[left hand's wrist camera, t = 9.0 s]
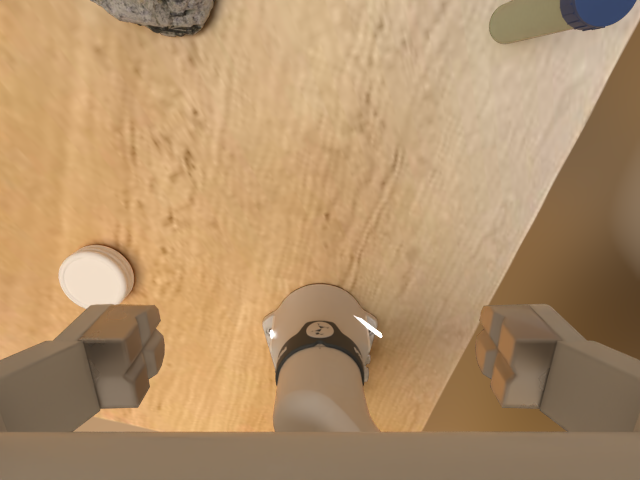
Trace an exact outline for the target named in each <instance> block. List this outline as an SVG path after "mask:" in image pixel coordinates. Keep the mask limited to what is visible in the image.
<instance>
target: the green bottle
mask: <svg viewBox="0 0 640 480" xmlns="http://www.w3.org/2000/svg"><path fill="white" fill-rule="evenodd" d="M489 29H490V34H491V36H492V37H493V39H494V40H495V41H497V42H498V43H501V44H508V43H513V42H517V41H522V40H526V39H530V38H535V37H539V36H544V35H548V34H553V33H557V32H562V31H566V30H570V29H574V28H573V27H571V26H570V25H567V23H566V22H565V20H564V19H563V18H562V14H561V11H560V0H512V1H510V2H508V3H506V4H503V5H501V6H500V7H499V8H497V9H496V11H495V12H494V13H493V15H492V17H491V19H490V24H489Z"/></svg>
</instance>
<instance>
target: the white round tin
mask: <svg viewBox="0 0 640 480" xmlns="http://www.w3.org/2000/svg"><path fill="white" fill-rule="evenodd" d="M59 282H60V285H61V288H62V290H63V291H64V293H65V294H66V295H67V297H68V298H69V299H70V300H71V301H73V302H74V303H75V304H77V305H79V306H81V307H83V308H85V309H87V308H88V307H89V306H90V305H96V304H114V305H116V304H120V303H121V302H122V301H123V300H124V299H125V298H126V296H128V294H129V293H130V292H131V290H132V288H133V284H134V273H133V270H132V267H131V265H130V264H129V262H128V261H127V260H126V258H125V257H124V256H123V255H121V254H120V253H119V252H117V251H116V250H114V249H112V248H109V247H107V246H103V245H89V246H85V247H82V248H80V249H79V250H77V251H76V252H74V253H73V254H72V255H70V256H68V257H67V258H66V259H65V260H64V261H63V263H62V265H61V267H60V270H59Z"/></svg>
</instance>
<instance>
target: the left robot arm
mask: <svg viewBox="0 0 640 480" xmlns="http://www.w3.org/2000/svg"><path fill="white" fill-rule="evenodd" d="M160 321H161V320H160V315H159V310H158V308H157V307H156V306H155V305H121V304H116V305H114V304H96V305H90V306H89V307H88V308H87V309H86V310H85V311H84V312H83V313H82V314H81V315H80V316H79V317H78V318H76V319H75V320H74V321H73V322H72V323H71V324H70V325H69V326H68V327H67V328H66V329H65V330H64V331H63V332H62V333H61V334H60V335H58V336H57V337H56V338H55V339H54V340H53V341H45V342H42V343H40V344H37V345H35V346H33V347H30V348H28V349H26V350H23V351H21V352H19V353H16V354H14V355H11V356H9V357H7V358H4V359H2V360H0V480H640V360H638V359H635V358H633V357H631V356H628V355H626V354H624V353H621V352H619V351H617V350H614V349H612V348H610V347H607V346H605V345H602V344H600V343H598V342H595V341H587V340H586V339H585V338H584V337H583V336H582V335H581V334H579V333H578V332H577V331H576V330H575V329H574V328H573V327H572V326H571V325H570V324H569V323H568V322H567V321H566V320H565V319H564V318H563V317H561V316H560V315H559V314H558V313H557V312H556V311H555V310H554V309H553V308H552V307H551V306H549V305H546V304H530V305H488V306H484V307H483V309H482V311H481V314H480V320H479V321H480V322H481V324H482V326H483V327H484V329H483V330H482V331H481V332H480V333H479V334H478V335H477V338H476V346H475V350H476V359H477V362H478V366H479V368H480V369H481V372H482V373H483V374H484V375H486V376H487V377H489V378H490V379H491V385H490V387H491V389H492V391H493V393H494V394H495V396H496V398H497V400H498V401H499V403H500V405H501V407H502V408H536V409H540V411H541V412H542V413H544V414H545V415H546V416H548V417H549V418H550V419H552V420H553V421H554V422H555V423H557V424H558V425H559V426H561V427H562V428H563V429H565V430H566V431H567V432H381V431H380V430H379V429H378V428H377V426H376V425H375V423H374V422H373V420H372V418H371V416H370V414H369V411H368V407H367V403H366V399H365V395H364V390H363V385H364V382H367V381H368V376H369V369H368V368H367V367H366V364H370V359H371V357H370V355H369V353H370V350H371V346H372V343H373V339H374V336H375V334H376V335H378V336H379V337H380V338H381V337H382V334H381V333H380V332H379V331H377V330H376V329H377V319H376V318H375V317H374V316H373V315H371V314H370V313H368V312H366V311H364V310H363V309H362V308H361V306H360V305H359V303H358V302H357V301H356V300H355V298H354V297H353V296H352V295H350V294H349V293H348V292H346V291H345V290H343V289H341V288H338V287H336V286H332V285H327V284H313V285H308V286H304V287H302V288H299V289H297V290H295V291H294V292H292V293H291V294H290V295H288V296H287V297H286V298H285V300H284V301H283V302H282V303H281V305H280V306H279V308H278V309H277V310H276V311H274V312H272V313H270V314H269V315H267V316H266V317H265V318H264V319H263V329H264V333H265V336H266V339H267V343H268V346H269V350H270V353H271V357H272V360H273V363H274V367H275V373H276V385H277V391H276V398H275V405H274V413H273V425H274V430H275V432H73V431H74V430H75V429H77V428H78V427H79V426H81V425H82V424H83V423H85V422H86V421H87V420H89V419H90V418H91V417H93V416H94V415H95V414H96V413H98V412H99V411H100V409H105V408H138V407H139V405H140V403H141V401H142V400H143V398H144V396H145V395H146V393H147V391H148V389H149V388H150V385H149V379H150V378H152V377H153V376H155V375H156V374H157V373H158V371H159V370H160V368H161V366H162V362H163V358H164V347H165V344H164V338H163V335H162V334H161V333H160V332H159V331H158V330H157V329H156V327H157V326H158V324H159V322H160ZM270 328H272V330H270ZM368 329H369V330H368Z"/></svg>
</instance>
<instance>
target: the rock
mask: <svg viewBox="0 0 640 480" xmlns="http://www.w3.org/2000/svg"><path fill="white" fill-rule="evenodd" d="M90 1H92V2H95V3H96V4H98V5H99V6H101V7H103V8H104V9H105V10H106V11H107V12H108V13H109V14H111V15H112V16H114V17H115V18H117V19H118V20H120V21H124V22H131V23H135V24H138V25H140V26H141V25H143V26H146V27H148V28H149V29H151V30H152V31H153V32H156V33H160V34H162V35H165V36H171V37H176V35H178V36H184V35H185V34H187V35H194V34H196V33H197V32H199V31H200V30H201V29H202V27H203V26H204V23H205V22H206V20H207V19H208V17H209V15H210V11H211V9H212V8H213V6H214V1H215V0H90Z"/></svg>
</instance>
